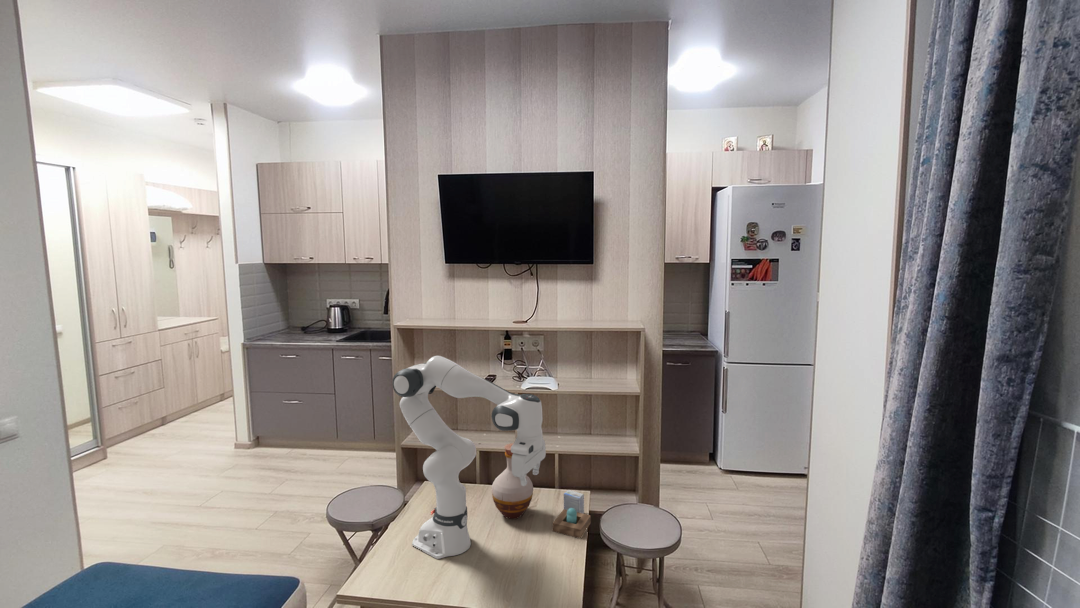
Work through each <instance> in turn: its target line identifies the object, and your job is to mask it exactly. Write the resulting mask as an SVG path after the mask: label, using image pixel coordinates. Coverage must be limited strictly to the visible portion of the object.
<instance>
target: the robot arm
mask: <svg viewBox="0 0 1080 608" xmlns="http://www.w3.org/2000/svg"><path fill="white" fill-rule="evenodd" d="M391 382H392V383H391V385H392V389H393V391H394V393H395V394H396V395H398V396H400V397H401V399H400V401H399V408H400V411H401V413H402V416H403V418H404V419H405V421H406V422H407V425H408V426H409V428H410V429H411V430H412V431H413V433H414V435H415V436H416V437H417V439H418V440H419V442H420V443H421V444H423V445H426V446H430V447H432V448H433V449H434V450H435V451H434V452H432V453H431V454H430V456H428V457H427V458H426V459H425V461H424V462H423V465H422V470H423V471H422V472H423V475H424V477H425V479H426V480H427V481H428V482H430V483H432V484H433V487H434V490H435V499H436V501H435V502H436V507H434V508H433V510H431V511H430V516H432V517H430V518H429V519H428V520H426V521H425V522H424V523H422V525H421V526H420V527H419V530H418V534H417V535H416V536H415V537H414V538H413V540H412V542H411V546H412V545H413V546H414V547H413V546H412V547H413V548H415V547H416V548H415V549H417V548H418V550H419V549H420V550H419V551H421V550H422V551H421V552H423V553H425V554H427V555H429V556H430V557H433V558H434V559H437V560H440V559H443V558H447V557H453V556H458V555H461V554H463V553H465V552H466V551H468V550H469V549H470V547H471V544H472V542H471V541H472V540H471V538H470V534H469V528H468V516H469V515H468V507H467V488H466V486H465V485H464V484H463V483H461V482H460V480H459V479H460V478H459V475H460V472H461V471H462V470H464V469H465V468H467V467H468V466H469V465H470V464H471V463H472V462H473V460H474V459H475V458H476V456H477V448H476V447H477V446H476V445H475V442H473V441H472V440H471V439H470V438H467V437H465V436H464V437H463V436H461V435H459V434H457V432H455V431H454V430H453V429H451V428H450V427H449V425H448V424H447V423H446V422H444V420H443V419H442V417H441V416H440V414H439V413H438V412H437V411H436V409H435V408H434V406H433V404H431V402H430V401H429V395H431V394H433V393H434V391H435V390H436V388H437V389H440V390H442V391H443V392H444V393H446V394H447V395H448V396H451V397H454V398H455V399H456V398H457V399H465V398H473V397H475V398H476V397H477V398H478V397H479V398H484V399H486V400H488V401H490V402H492V403H494V404H495V405H496V406H495V407H494V408H493V409H492V411H491V421H492V424H493V426H494V427H495V428H496V429H498V430H499V431H501V432H502V431H504V432H506V431H507V432H508V431H509V432H510V431H516V434H517V435H516V437H515V440H514V442H513V443H514V444H513V445H512V446H511V452H512V453H513V455H512V474H513V476H515V477H519V478H520V480H521V485H522V486H525V485H526V484H527V479H526V478H525V477H526V475H527V474H528V473H529V472H531V471H532V475H534V476H537V475H538V474H539V473H540V471H539V470H540V466H541V462H542V461H543V460H544V459H545V458H546V456H547V455H546V454H547V451H546V449H547V447H546V440H545V439H544V436H543V428H542V425H543V420H544V419H543V405H542V400H541V399H540V398H539V397H538V396H537V395H535V394H532V393H522V394H518V393H513V392H510V391H509V390H506V389H505V388H502V387H501V386H499V385H497V384H496V383H494V382H492V381H490V380H488V379H485V378H483V377H481V376H479V375H477V374H475V373H473V372H471V371H470V370H468V369H466V368H464V367H463V366H461V365H460V364H458V363H456V362H455V361H453V360H451V359H449V358H446V357H444V356H443V355H442V356H441V355H433V356H431V357H430V358H429V359H428V360H427V361H426V362H424V363H419V364H414V365H412V366H409V367H407V368H402V369H401V370H399V371H397V372H396V373H395V374H394V375H393V378H392V381H391Z"/></svg>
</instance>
